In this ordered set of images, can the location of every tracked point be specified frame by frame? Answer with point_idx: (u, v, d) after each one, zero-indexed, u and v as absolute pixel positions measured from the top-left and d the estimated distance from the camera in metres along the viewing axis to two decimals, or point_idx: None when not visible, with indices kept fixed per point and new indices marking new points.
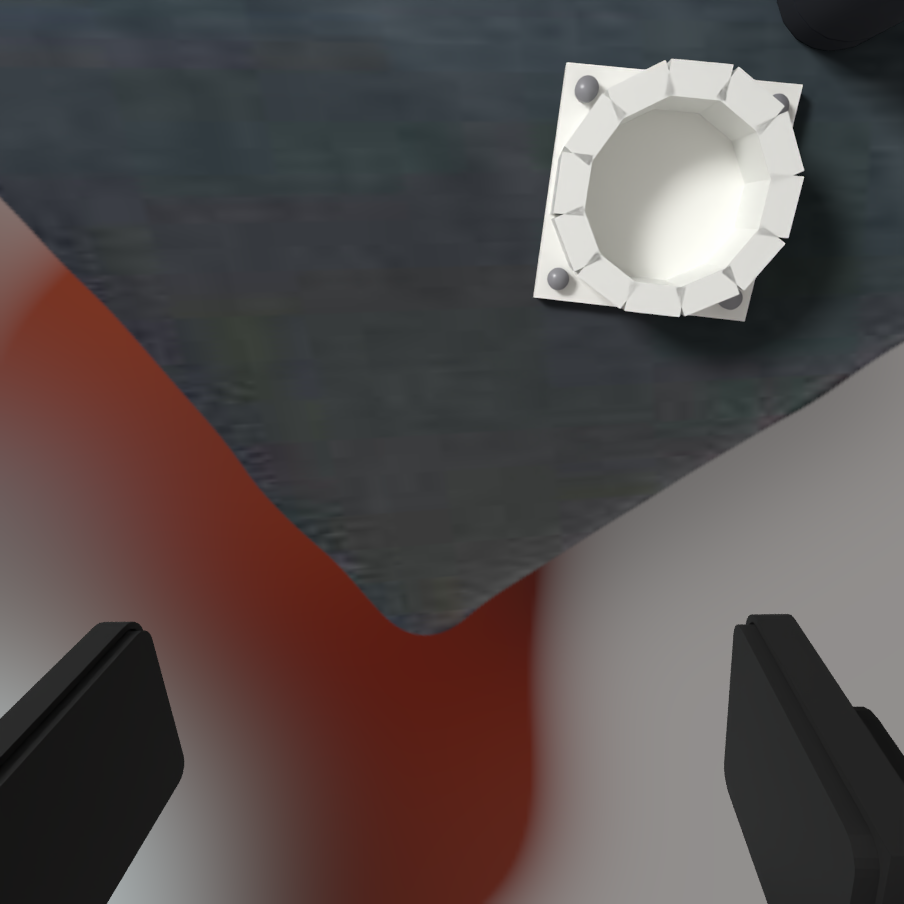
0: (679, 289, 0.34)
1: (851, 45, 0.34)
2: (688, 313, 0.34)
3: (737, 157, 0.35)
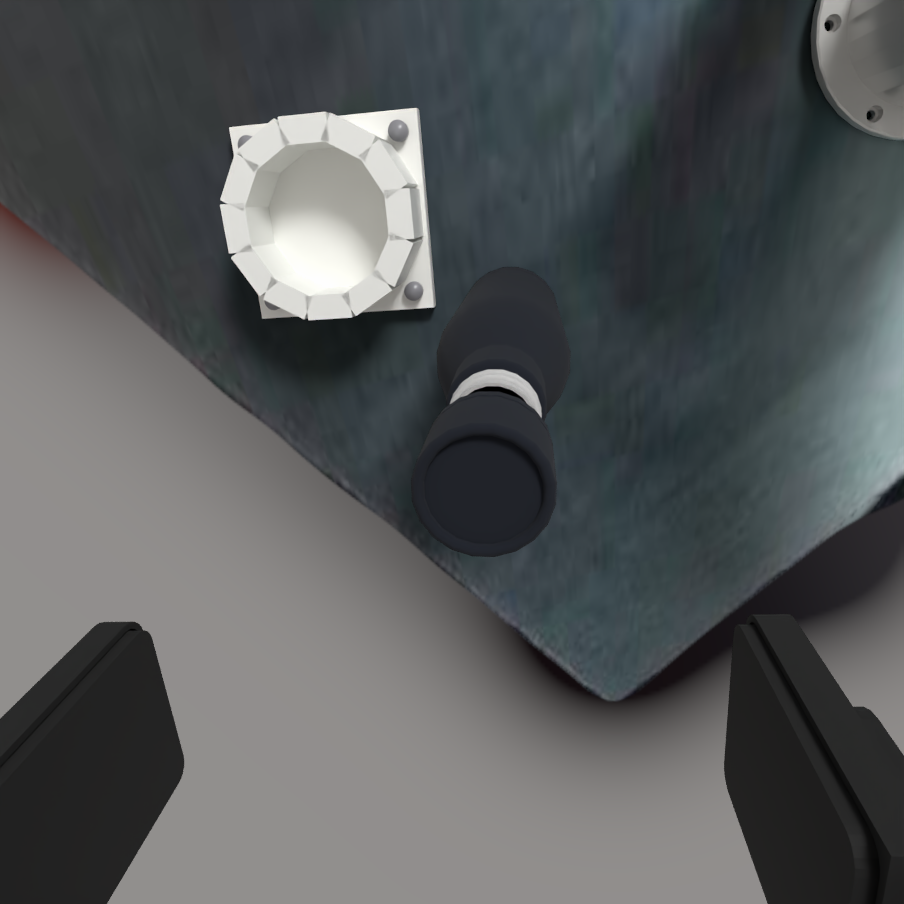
0: (249, 246, 0.41)
1: None
2: (233, 259, 0.41)
3: None
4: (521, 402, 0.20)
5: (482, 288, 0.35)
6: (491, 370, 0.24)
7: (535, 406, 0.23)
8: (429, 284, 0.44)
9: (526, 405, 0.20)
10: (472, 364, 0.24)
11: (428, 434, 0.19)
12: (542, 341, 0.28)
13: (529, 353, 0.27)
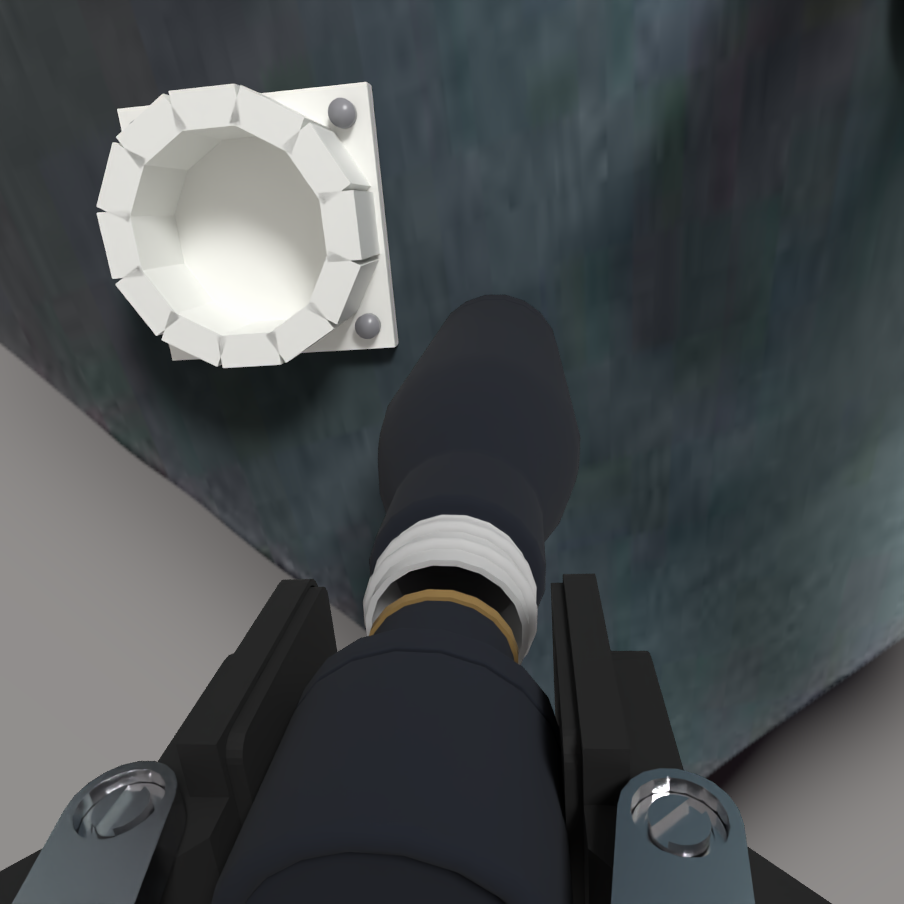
0: (139, 269, 0.30)
1: None
2: (119, 287, 0.30)
3: None
4: (491, 661, 0.09)
5: (451, 333, 0.25)
6: (444, 523, 0.13)
7: (525, 596, 0.12)
8: (388, 317, 0.34)
9: (503, 665, 0.09)
10: (413, 502, 0.14)
11: (281, 742, 0.09)
12: (538, 436, 0.17)
13: (517, 464, 0.16)
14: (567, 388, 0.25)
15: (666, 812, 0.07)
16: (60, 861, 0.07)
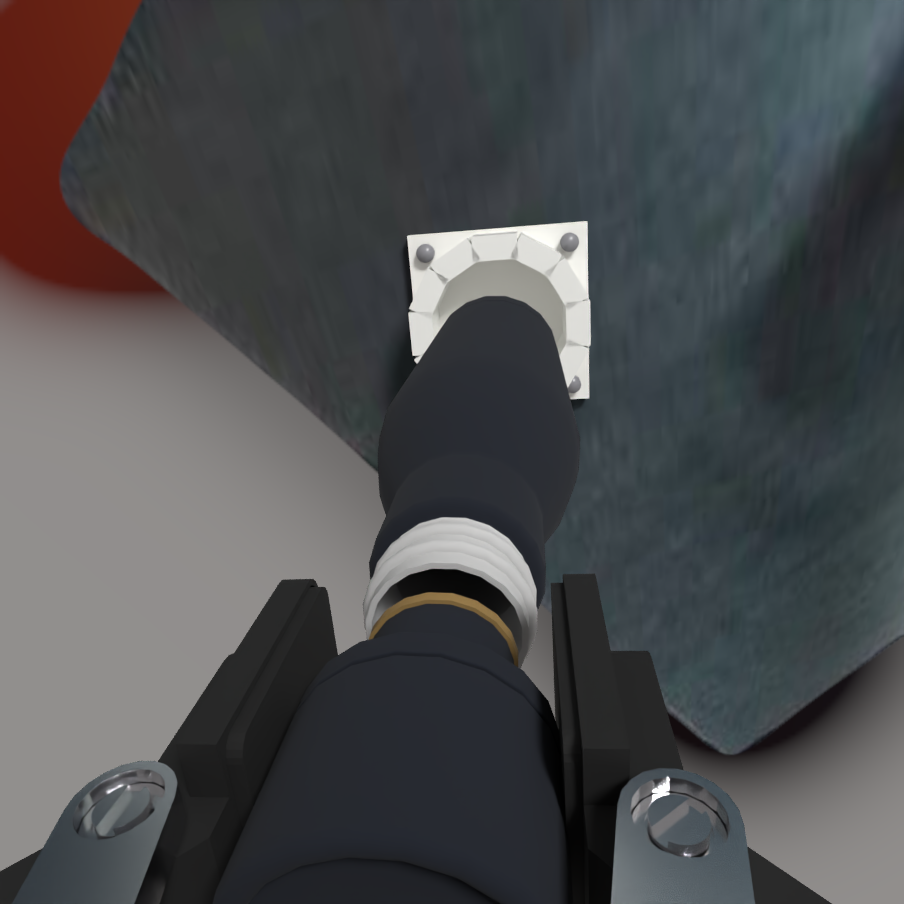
0: None
1: None
2: (416, 361, 0.44)
3: None
4: (491, 666, 0.09)
5: (451, 335, 0.25)
6: (444, 526, 0.13)
7: (525, 599, 0.12)
8: (586, 377, 0.48)
9: (503, 669, 0.09)
10: (413, 505, 0.14)
11: (281, 746, 0.09)
12: (538, 438, 0.17)
13: (517, 466, 0.16)
14: (567, 389, 0.25)
15: (666, 812, 0.07)
16: (60, 861, 0.07)
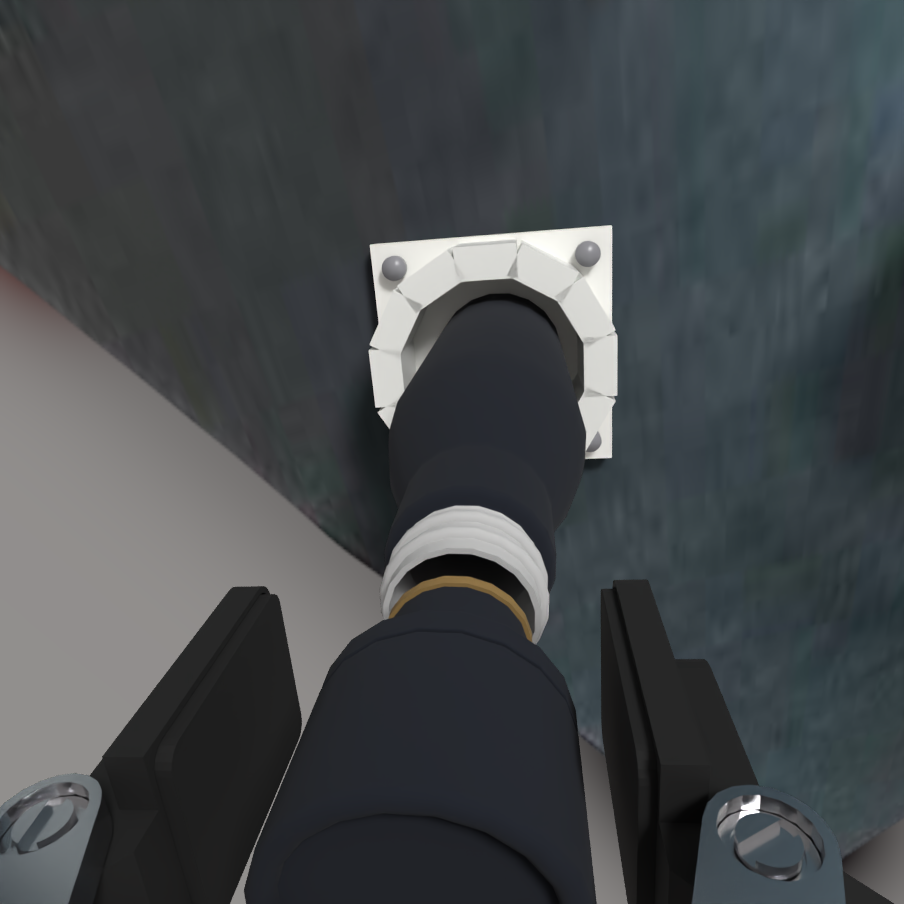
0: None
1: None
2: (381, 415, 0.33)
3: None
4: (510, 642, 0.09)
5: (458, 331, 0.25)
6: (458, 513, 0.13)
7: (537, 584, 0.13)
8: (608, 431, 0.36)
9: (521, 645, 0.09)
10: (427, 494, 0.14)
11: (309, 718, 0.09)
12: (546, 431, 0.18)
13: (526, 457, 0.16)
14: (572, 385, 0.25)
15: (754, 830, 0.07)
16: None
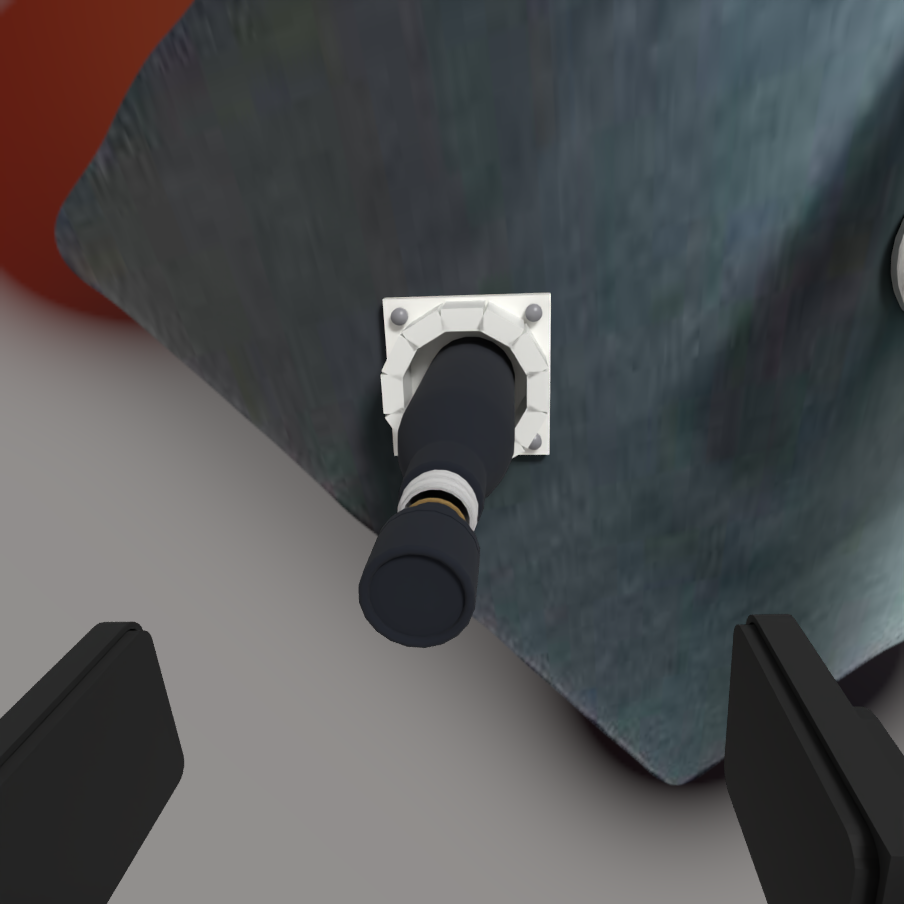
0: (402, 409, 0.47)
1: None
2: (387, 419, 0.47)
3: None
4: (453, 516, 0.24)
5: (441, 369, 0.40)
6: (436, 472, 0.28)
7: (471, 506, 0.27)
8: (547, 435, 0.51)
9: (458, 518, 0.24)
10: (421, 464, 0.29)
11: (376, 541, 0.23)
12: (486, 434, 0.32)
13: (473, 448, 0.31)
14: (512, 405, 0.40)
15: None
16: None
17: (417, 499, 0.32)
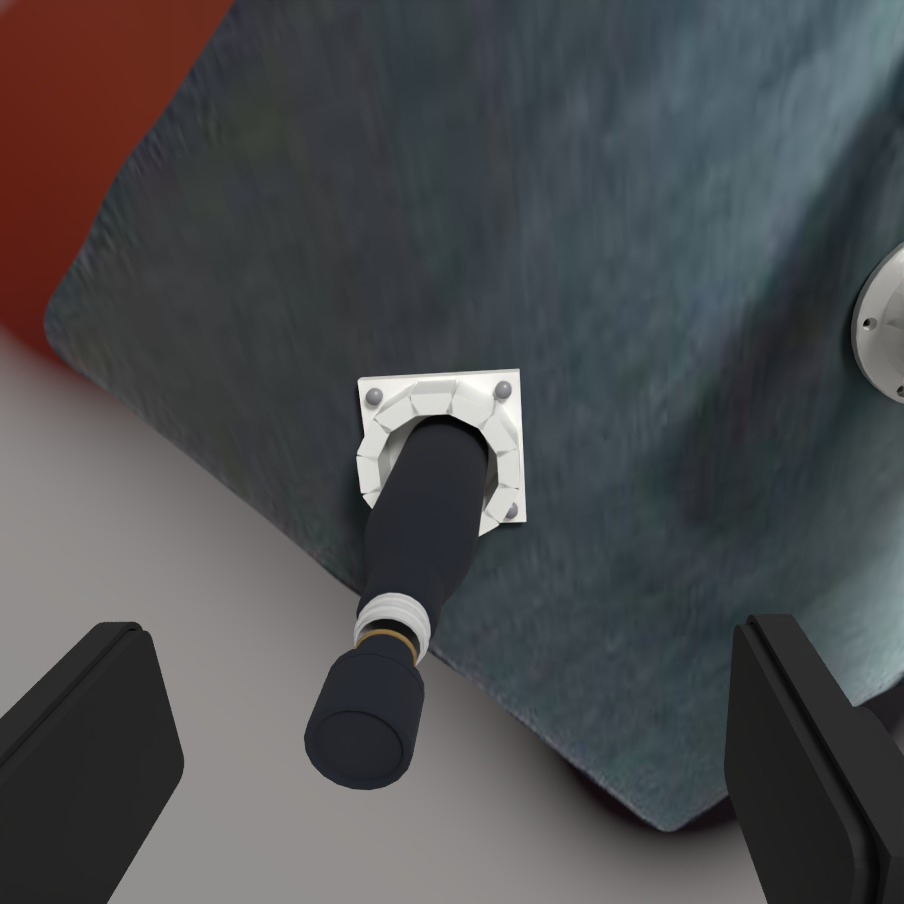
0: (379, 488, 0.49)
1: None
2: (364, 498, 0.49)
3: None
4: (396, 658, 0.25)
5: (409, 462, 0.41)
6: (388, 598, 0.29)
7: (422, 630, 0.29)
8: (523, 503, 0.52)
9: (400, 659, 0.25)
10: (376, 586, 0.30)
11: (323, 685, 0.25)
12: (444, 543, 0.34)
13: (430, 561, 0.33)
14: (478, 495, 0.41)
15: None
16: None
17: None
